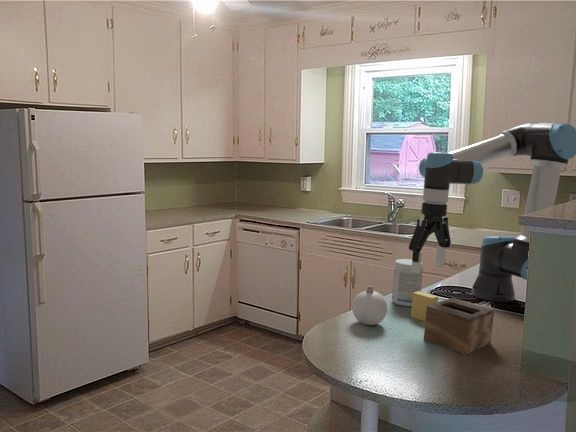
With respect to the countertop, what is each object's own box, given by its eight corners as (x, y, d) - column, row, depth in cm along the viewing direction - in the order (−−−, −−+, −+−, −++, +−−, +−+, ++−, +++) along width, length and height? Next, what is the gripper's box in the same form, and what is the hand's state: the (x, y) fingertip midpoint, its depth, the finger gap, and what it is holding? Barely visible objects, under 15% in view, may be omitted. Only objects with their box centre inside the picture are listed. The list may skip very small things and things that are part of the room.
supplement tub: (425, 305, 185) (429, 263, 183) (405, 309, 180) (409, 266, 178) (405, 297, 193) (408, 257, 191) (385, 300, 188) (389, 259, 186)
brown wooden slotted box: (449, 329, 162) (452, 297, 161) (490, 343, 153) (494, 309, 151) (423, 339, 153) (426, 305, 151) (465, 355, 143) (469, 319, 142)
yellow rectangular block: (416, 314, 175) (419, 290, 174) (435, 320, 170) (438, 296, 168) (410, 316, 172) (413, 292, 171) (429, 323, 167) (432, 298, 166)
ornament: (360, 331, 157) (363, 291, 155) (346, 319, 166) (348, 281, 164) (391, 328, 160) (395, 290, 158) (375, 317, 170) (378, 280, 168)
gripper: (445, 199, 177) (438, 262, 180) (401, 202, 160) (394, 271, 163) (466, 202, 171) (459, 267, 174) (422, 205, 154) (415, 277, 157)
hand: (427, 269), depth 168 cm, fingers open, 13 cm apart
